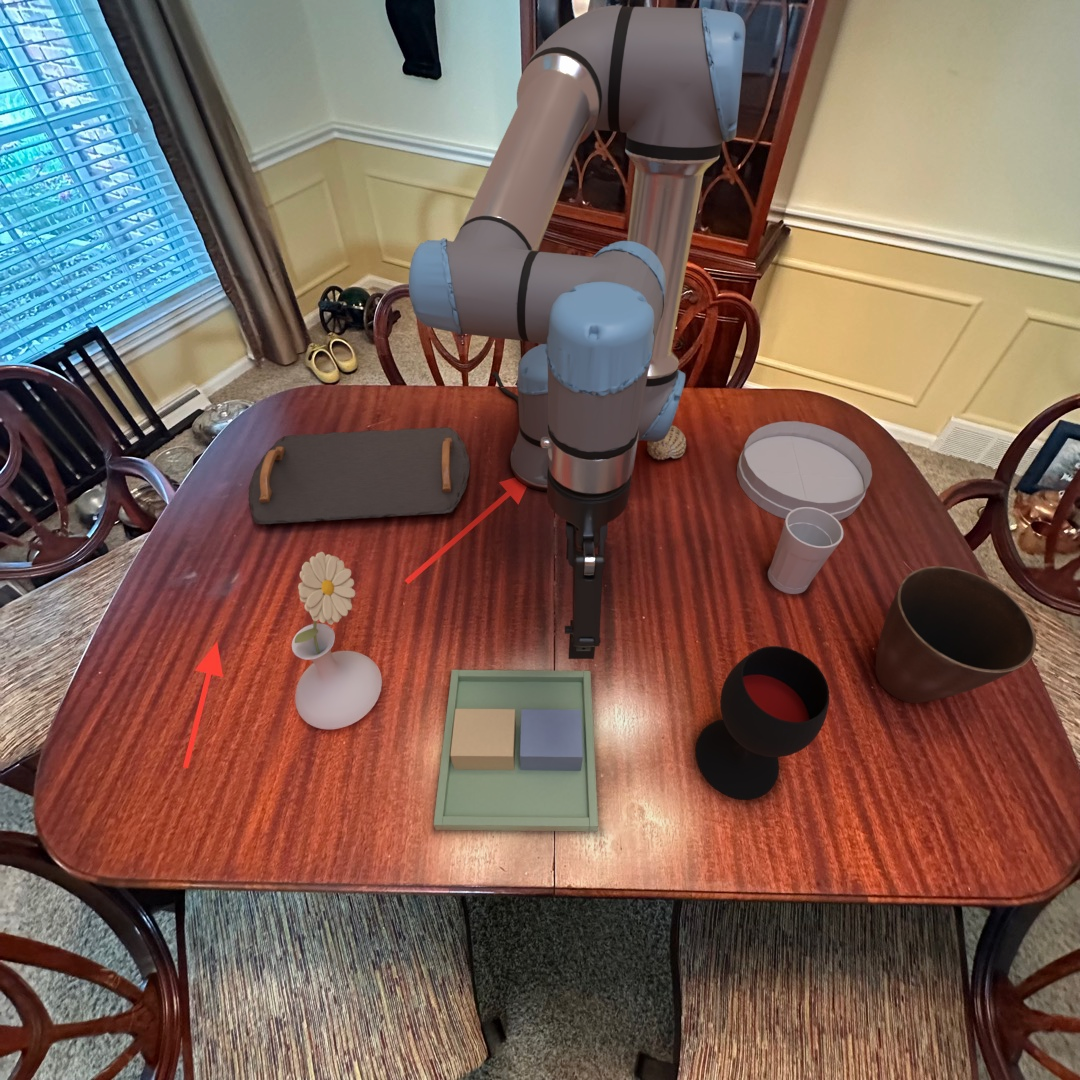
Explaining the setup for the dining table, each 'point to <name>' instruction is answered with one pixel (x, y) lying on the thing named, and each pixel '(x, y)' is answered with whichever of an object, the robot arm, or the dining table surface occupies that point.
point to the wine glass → (762, 721)
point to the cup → (803, 548)
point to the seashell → (668, 445)
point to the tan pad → (484, 739)
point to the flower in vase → (333, 678)
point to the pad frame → (518, 758)
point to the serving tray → (359, 476)
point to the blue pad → (551, 740)
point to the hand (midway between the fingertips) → (579, 603)
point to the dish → (803, 469)
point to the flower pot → (950, 635)
